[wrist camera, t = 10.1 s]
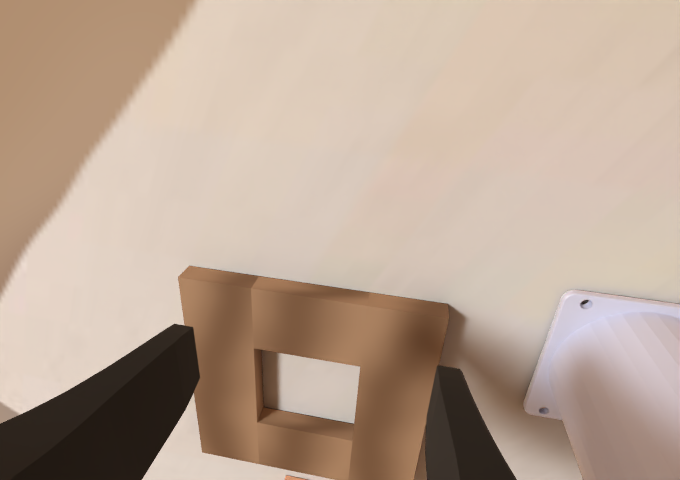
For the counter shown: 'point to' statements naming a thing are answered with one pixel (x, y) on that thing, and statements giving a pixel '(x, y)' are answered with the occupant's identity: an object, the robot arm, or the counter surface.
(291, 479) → the tile
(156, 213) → the counter surface
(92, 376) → the robot arm
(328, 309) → the pocket plate
